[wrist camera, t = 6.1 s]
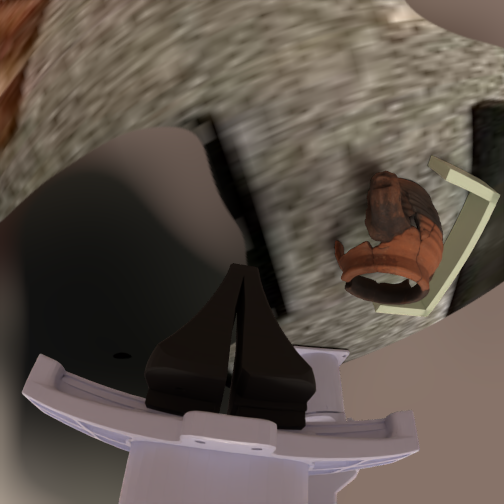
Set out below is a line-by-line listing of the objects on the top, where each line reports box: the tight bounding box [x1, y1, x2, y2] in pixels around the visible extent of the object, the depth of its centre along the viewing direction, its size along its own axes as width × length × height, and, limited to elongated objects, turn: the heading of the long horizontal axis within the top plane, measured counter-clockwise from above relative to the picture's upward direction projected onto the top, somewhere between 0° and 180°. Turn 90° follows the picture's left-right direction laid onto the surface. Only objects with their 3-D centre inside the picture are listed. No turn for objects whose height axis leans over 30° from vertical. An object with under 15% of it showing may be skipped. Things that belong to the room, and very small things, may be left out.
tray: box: [373, 155, 500, 317], centre depth 21 cm, size 15×7×3 cm, turn 171°
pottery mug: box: [334, 171, 443, 305], centre depth 20 cm, size 12×10×8 cm
